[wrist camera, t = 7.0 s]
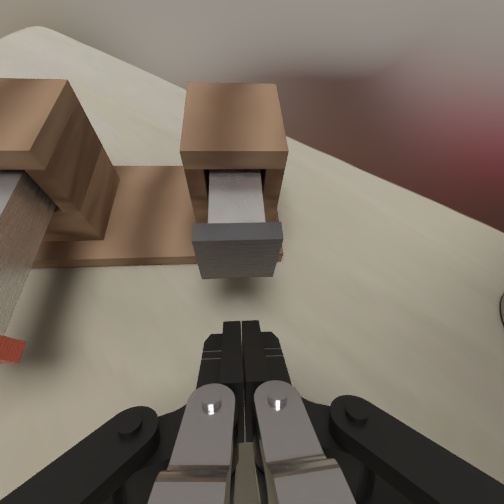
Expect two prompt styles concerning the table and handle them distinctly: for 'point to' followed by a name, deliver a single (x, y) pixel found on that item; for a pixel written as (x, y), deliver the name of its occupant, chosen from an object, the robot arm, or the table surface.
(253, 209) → the charcoal plug
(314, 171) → the table surface
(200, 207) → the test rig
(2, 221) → the red plug
